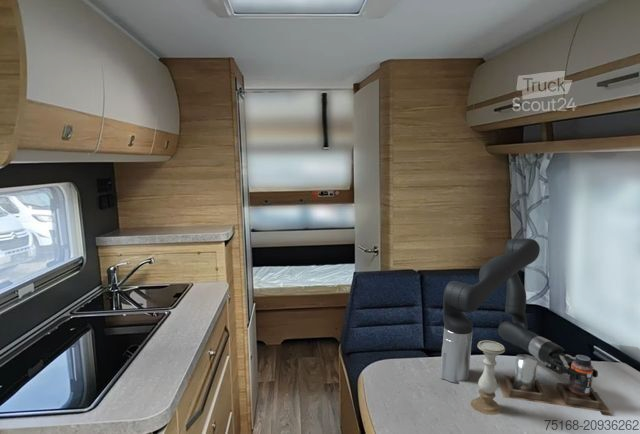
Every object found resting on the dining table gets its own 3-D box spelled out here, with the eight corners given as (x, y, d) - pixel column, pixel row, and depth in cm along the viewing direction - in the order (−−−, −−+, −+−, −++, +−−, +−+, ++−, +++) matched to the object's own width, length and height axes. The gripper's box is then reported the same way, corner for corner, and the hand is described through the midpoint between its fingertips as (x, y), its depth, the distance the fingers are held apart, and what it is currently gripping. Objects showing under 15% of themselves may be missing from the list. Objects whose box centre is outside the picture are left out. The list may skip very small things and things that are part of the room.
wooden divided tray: (503, 400, 138) (503, 391, 138) (497, 381, 150) (498, 372, 149) (610, 415, 131) (611, 406, 131) (595, 394, 143) (597, 386, 142)
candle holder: (507, 412, 132) (513, 347, 129) (489, 421, 127) (495, 354, 124) (481, 398, 139) (487, 336, 136) (464, 406, 134) (469, 343, 131)
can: (515, 394, 140) (518, 361, 138) (511, 384, 146) (514, 353, 144) (535, 396, 139) (539, 364, 137) (531, 387, 144) (534, 355, 143)
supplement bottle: (593, 397, 135) (598, 363, 133) (572, 395, 136) (576, 361, 134) (585, 387, 141) (590, 354, 139) (565, 385, 142) (569, 352, 140)
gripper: (530, 343, 148) (571, 367, 132) (564, 338, 152) (608, 361, 136) (527, 364, 150) (568, 390, 134) (562, 359, 154) (605, 384, 138)
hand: (588, 375), depth 135 cm, fingers closed on supplement bottle, 6 cm apart
